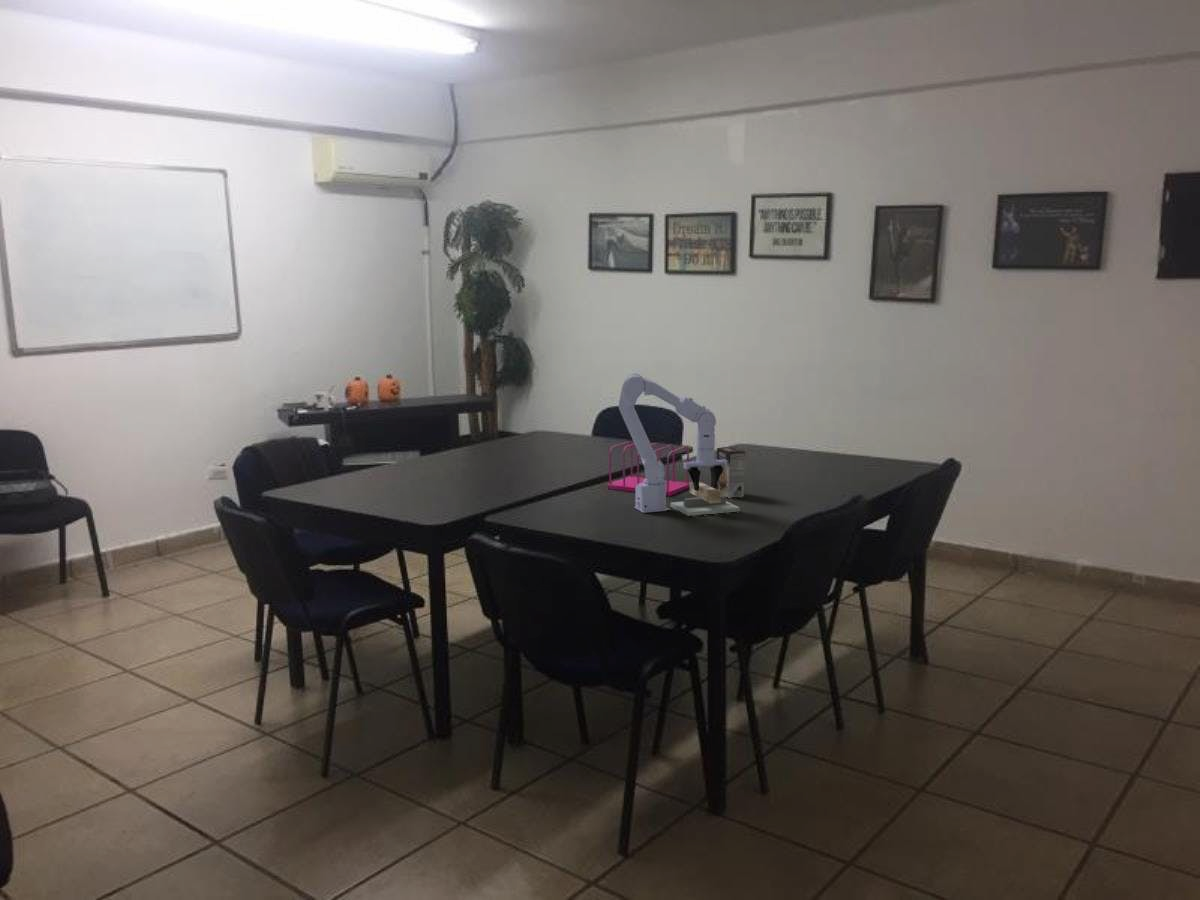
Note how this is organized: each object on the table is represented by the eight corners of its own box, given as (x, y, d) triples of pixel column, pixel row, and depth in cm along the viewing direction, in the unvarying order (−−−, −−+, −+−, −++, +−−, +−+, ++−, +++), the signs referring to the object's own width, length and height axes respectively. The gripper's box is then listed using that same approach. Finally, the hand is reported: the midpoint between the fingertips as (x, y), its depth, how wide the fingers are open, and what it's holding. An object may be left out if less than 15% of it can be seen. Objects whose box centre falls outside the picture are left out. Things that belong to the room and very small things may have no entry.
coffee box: (715, 493, 333) (716, 447, 330) (731, 491, 336) (732, 446, 333) (727, 498, 325) (728, 451, 322) (744, 497, 327) (745, 450, 324)
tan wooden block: (689, 492, 316) (689, 482, 316) (699, 491, 317) (699, 481, 317) (710, 503, 301) (710, 492, 301) (720, 502, 302) (720, 491, 302)
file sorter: (669, 497, 328) (669, 452, 326) (606, 489, 341) (606, 445, 338) (691, 487, 343) (692, 444, 340) (630, 480, 356) (630, 438, 353)
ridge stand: (688, 516, 300) (688, 504, 300) (670, 507, 314) (670, 495, 313) (739, 512, 306) (740, 499, 306) (720, 502, 319) (720, 490, 319)
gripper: (689, 451, 300) (689, 493, 303) (731, 448, 305) (731, 490, 307) (680, 447, 307) (680, 489, 309) (722, 444, 311) (721, 486, 314)
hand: (705, 489), depth 309 cm, fingers open, 5 cm apart
